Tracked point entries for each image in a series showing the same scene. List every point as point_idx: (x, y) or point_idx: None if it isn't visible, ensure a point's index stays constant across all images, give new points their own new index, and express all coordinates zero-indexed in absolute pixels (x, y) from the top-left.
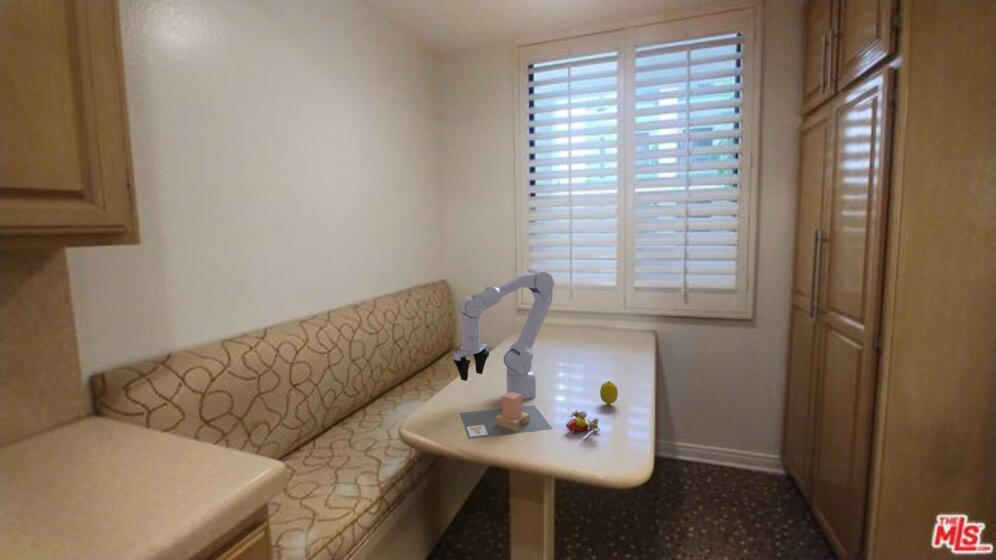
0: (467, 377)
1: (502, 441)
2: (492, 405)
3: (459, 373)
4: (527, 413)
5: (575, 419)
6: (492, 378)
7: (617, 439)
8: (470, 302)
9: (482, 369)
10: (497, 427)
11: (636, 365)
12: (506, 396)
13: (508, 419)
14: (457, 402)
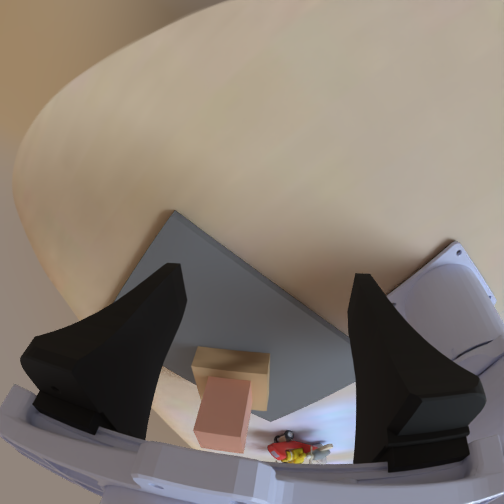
0: (179, 319)
1: (162, 369)
2: (336, 258)
3: (137, 286)
4: (266, 407)
5: (285, 459)
6: None
7: (305, 459)
8: None
9: (354, 345)
10: (189, 353)
11: None
12: (198, 436)
13: (202, 389)
14: (272, 105)
